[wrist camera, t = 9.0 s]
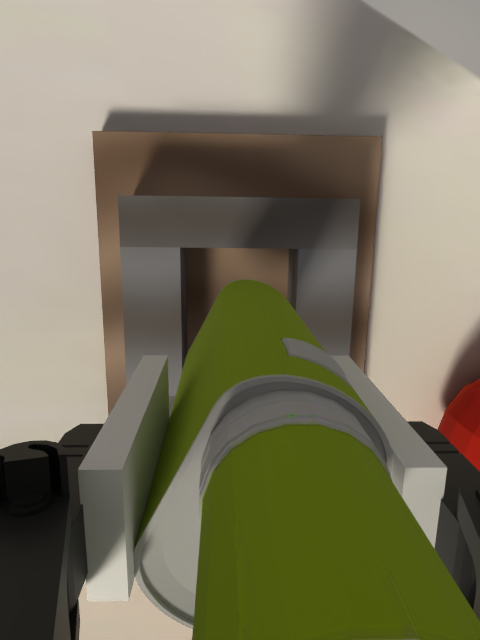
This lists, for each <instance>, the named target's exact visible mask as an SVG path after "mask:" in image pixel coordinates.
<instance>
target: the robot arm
mask: <svg viewBox="0 0 480 640" xmlns="http://www.w3.org/2000/svg"><path fill="white" fill-rule="evenodd" d="M331 357H332V358H333V359H334V360H335V361H336V362H337V363H338V364H339V366H340V367H341V368H342V370H343V371H344V373H345V375H346V378H347V380H348V382H349V383H350V384H351V386H352V388H353V389H354V390H355V392H356V393H357V394H358V396H359V397H360V399H361V400H362V401H363V403H364V404H365V406H366V407H367V408H368V410H369V411H370V412H371V414H372V415H373V417H374V418H375V419H376V421H377V422H378V423H379V425H380V426H381V428H382V429H383V431H384V433H385V435H386V437H387V439H388V441H389V443H390V446H391V449H392V454H393V462H392V472H391V478H392V482H393V484H394V485H395V487H396V488H397V490H398V492H399V493H400V495H401V496H402V498H403V500H404V501H405V503H406V504H407V506H408V508H409V509H410V511H411V512H412V514H413V515H414V517H415V519H416V520H417V522H418V523H419V525H420V527H421V528H422V530H423V531H424V533H425V535H426V536H427V538H428V539H429V541H430V542H431V544H432V546H433V547H434V549H435V550H436V552H437V554H438V555H439V557H440V558H441V560H442V562H443V563H444V565H445V566H446V568H447V569H448V571H449V573H450V574H451V576H452V577H453V579H454V581H455V582H456V584H457V585H458V587H459V589H460V590H461V592H462V593H463V595H464V596H465V598H466V600H467V601H468V603H469V604H470V606H471V608H472V609H473V611H474V612H475V614H476V616H477V617H478V619H479V620H480V472H479V471H478V469H477V468H476V467H475V466H474V465H473V464H472V463H471V462H470V461H469V460H468V459H467V458H466V457H465V456H464V455H463V454H462V453H459V450H458V449H457V448H456V447H455V446H454V445H453V444H450V441H449V440H448V439H447V438H446V437H445V436H444V435H443V434H442V433H441V432H440V431H438V430H437V429H435V428H433V427H431V426H429V425H427V424H426V423H424V422H407V421H406V420H405V419H404V418H403V417H402V416H401V414H400V413H399V412H398V411H397V410H396V409H395V408H394V406H393V405H392V404H391V403H390V402H389V401H388V400H387V399H386V397H385V396H384V395H383V394H382V393H381V392H380V391H379V389H378V388H377V387H376V386H375V385H374V384H373V383H372V382H371V380H370V379H369V378H368V377H367V376H366V375H365V374H364V372H363V371H362V370H361V369H360V368H359V367H358V366H357V365H356V363H355V362H354V361H353V360H352V359H351V358H350V357H349V356H331ZM168 422H169V381H168V355H143V357H142V359H141V361H140V362H139V364H138V366H137V368H136V369H135V371H134V373H133V375H132V376H131V378H130V380H129V382H128V383H127V385H126V387H125V389H124V390H123V392H122V394H121V396H120V397H119V399H118V401H117V402H116V404H115V406H114V408H113V409H112V411H111V413H110V415H109V416H108V418H107V420H106V422H105V423H104V424H80V425H78V426H76V427H75V428H73V429H72V430H70V431H68V432H67V433H65V434H64V436H63V437H62V438H61V440H60V441H59V442H58V443H56V442H51V441H28V442H23V443H18V444H14V445H11V446H8V447H5V448H3V449H0V640H79V628H80V614H79V602H78V597H79V594H80V592H81V589H82V587H83V584H84V581H85V579H86V586H87V599H88V601H129V597H130V593H131V589H132V585H133V581H134V577H135V575H134V555H133V553H134V549H135V545H136V541H137V537H138V534H139V530H140V526H141V523H142V519H143V515H144V511H145V508H146V504H147V500H148V497H149V493H150V489H151V485H152V482H153V478H154V474H155V471H156V467H157V463H158V459H159V456H160V452H161V448H162V444H163V441H164V437H165V433H166V430H167V426H168Z"/></svg>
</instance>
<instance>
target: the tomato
mask: <svg viewBox="0 0 480 640" xmlns="http://www.w3.org/2000/svg"><path fill="white" fill-rule="evenodd" d="M438 431H440V432H441V433H442V434H443V435H444V436H445V437H446V438H447V439H448V440H449V441H450V444H453V445H454V446H455V447H456V448H457V449H458V450H459V453H462V454H463V455H464V456H465V457H466V458H467V459H468V460H469V461H470V462H471V463H472V464H473V465H474V466H475V467H476V468H477V469H478V471H479V472H480V379H478V380H476V381H474V382H472V383H470V384H468V385H466V386H464V387H463V389H462V390H461V391H460V392H459V393H458V395H457V396H456V397H455V398H454V399H453V401H452V402H451V403H450V404H449V405H448V407H447V408H446V411H445V413H444V416H443V418H442V420H441V423H440V425H439V427H438Z"/></svg>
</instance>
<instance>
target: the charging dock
mask: <svg viewBox="0 0 480 640" xmlns="http://www.w3.org/2000/svg"><path fill="white" fill-rule="evenodd" d="M92 133H93V150H94V168H95V186H96V203H97V221H98V238H99V256H100V274H101V291H102V309H103V326H104V344H105V362H106V379H107V397H108V414H109V415H110V413H111V411H112V409H113V408H114V406H115V404H116V402H117V401H118V399H119V397H120V396H121V394H122V392H123V390H124V389H125V387H126V385H127V383H128V382H129V380H130V378H131V376H132V375H133V373H134V371H135V369H136V368H137V366H138V364H139V362H140V361H141V359H142V357H143V355H168V381H169V418H170V415H171V411H172V407H173V404H174V400H175V396H176V392H177V389H178V385H179V381H180V378H181V374H182V370H183V366H184V363H185V359H186V355H187V353H188V351H189V349H190V347H191V345H192V344H193V342H194V340H195V338H196V336H197V334H198V332H199V330H200V328H201V327H202V325H203V323H204V321H205V319H206V317H207V315H208V313H209V312H210V310H211V308H212V306H213V304H214V302H215V300H216V298H217V296H218V295H219V293H220V291H221V290H222V288H223V287H224V286H225V285H227V284H228V283H230V282H232V281H235V280H239V279H253V280H258V281H261V282H264V283H266V284H268V285H270V286H272V287H274V288H275V289H277V290H278V291H279V292H280V293H281V294H282V295H283V296H284V297H285V298H286V299H287V300H288V302H289V303H290V304H291V306H292V307H293V309H294V310H295V311H296V313H297V314H298V315H299V317H300V318H301V319H302V321H303V322H304V323H305V325H306V326H307V327H308V329H309V330H310V332H311V333H312V334H313V336H314V337H315V338H316V340H317V341H318V342H319V344H320V345H321V346H322V348H323V349H324V350H325V352H326V353H327V354H329V355H330V356H349V357H350V358H351V359H352V360H353V361H354V362H355V363H356V365H357V366H358V367H359V368H360V369H361V370H362V371H363V372H364V363H365V350H366V337H367V325H368V312H369V299H370V287H371V274H372V261H373V248H374V236H375V223H376V210H377V198H378V185H379V172H380V159H381V147H382V137H377V136H326V135H275V134H223V133H172V132H120V131H92Z"/></svg>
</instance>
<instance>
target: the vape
mask: <svg viewBox="0 0 480 640" xmlns="http://www.w3.org/2000/svg"><path fill="white" fill-rule="evenodd" d="M392 462H393V454H392V449H391V446H390V443H389V441H388V439H387V437H386V435H385V433H384V431H383V429H382V428H381V426H380V425H379V423H378V422H377V421H376V419H375V418H374V417H373V415H372V414H371V412H370V411H369V410H368V408H367V407H366V406H365V404H364V403H363V401H362V400H361V399H360V397H359V396H358V394H357V393H356V392H355V390H354V389H353V388H352V386H351V384H350V383H349V382H348V380H347V378H346V375H345V373H344V371H343V370H342V368H341V367H340V366H339V364H338V363H337V362H336V361H335V360H334V359H333V358H332V357H331V356H330V355H329V354H327V353H326V352H325V350H324V349H323V348H322V346H321V345H320V344H319V342H318V341H317V340H316V338H315V337H314V336H313V334H312V333H311V332H310V330H309V329H308V327H307V326H306V325H305V323H304V322H303V321H302V319H301V318H300V317H299V315H298V314H297V313H296V311H295V310H294V309H293V307H292V306H291V304H290V303H289V302H288V300H287V299H286V298H285V297H284V296H283V295H282V294H281V293H280V292H279V291H278V290H277V289H275V288H274V287H272V286H270V285H268V284H266V283H264V282H261V281H258V280H253V279H239V280H235V281H232V282H230V283H228V284H227V285H225V286H224V287H223V288H222V290H221V291H220V293H219V295H218V296H217V298H216V300H215V302H214V304H213V306H212V308H211V310H210V312H209V313H208V315H207V317H206V319H205V321H204V323H203V325H202V327H201V328H200V330H199V332H198V334H197V336H196V338H195V340H194V342H193V344H192V345H191V347H190V349H189V351H188V353H187V355H186V359H185V363H184V366H183V370H182V374H181V378H180V381H179V385H178V389H177V392H176V396H175V400H174V404H173V407H172V411H171V415H170V418H169V422H168V426H167V430H166V433H165V437H164V441H163V444H162V448H161V452H160V456H159V459H158V463H157V467H156V471H155V474H154V478H153V482H152V485H151V489H150V493H149V497H148V500H147V504H146V508H145V511H144V515H143V519H142V523H141V526H140V530H139V534H138V537H137V541H136V545H135V549H134V553H133V555H134V575H135V578H136V581H137V583H138V585H139V586H140V588H141V590H142V591H143V593H144V594H145V595H146V597H147V598H148V599H149V600H150V601H151V602H152V603H153V604H154V605H155V606H156V607H157V608H158V609H159V610H161V611H162V612H163V613H165V614H166V615H167V616H169V617H170V618H172V619H174V620H175V621H177V622H179V623H181V624H183V625H185V626H187V627H189V628H192V629H193V637H192V640H480V620H479V619H478V617H477V616H476V614H475V612H474V611H473V609H472V608H471V606H470V604H469V603H468V601H467V600H466V598H465V596H464V595H463V593H462V592H461V590H460V589H459V587H458V585H457V584H456V582H455V581H454V579H453V577H452V576H451V574H450V573H449V571H448V569H447V568H446V566H445V565H444V563H443V562H442V560H441V558H440V557H439V555H438V554H437V552H436V550H435V549H434V547H433V546H432V544H431V542H430V541H429V539H428V538H427V536H426V535H425V533H424V531H423V530H422V528H421V527H420V525H419V523H418V522H417V520H416V519H415V517H414V515H413V514H412V512H411V511H410V509H409V508H408V506H407V504H406V503H405V501H404V500H403V498H402V496H401V495H400V493H399V492H398V490H397V488H396V487H395V485H394V484H393V482H392V478H391V472H392Z"/></svg>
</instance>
